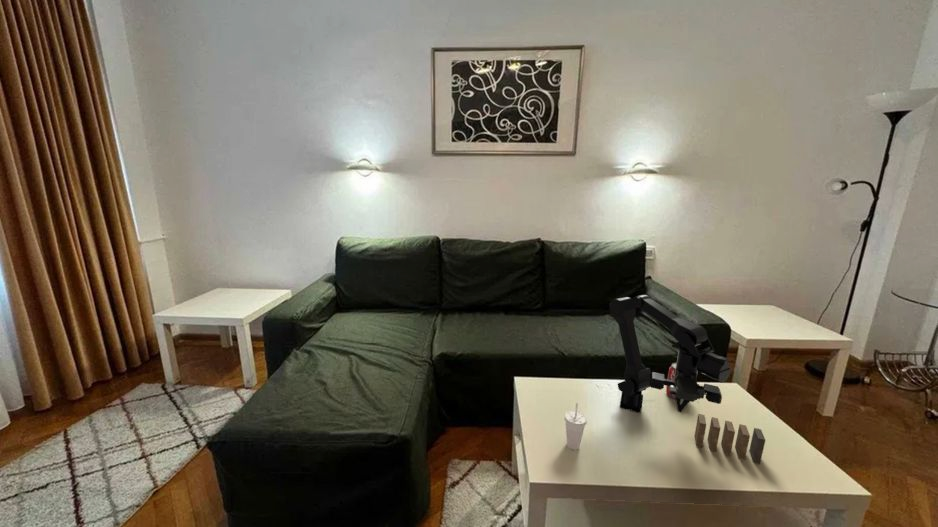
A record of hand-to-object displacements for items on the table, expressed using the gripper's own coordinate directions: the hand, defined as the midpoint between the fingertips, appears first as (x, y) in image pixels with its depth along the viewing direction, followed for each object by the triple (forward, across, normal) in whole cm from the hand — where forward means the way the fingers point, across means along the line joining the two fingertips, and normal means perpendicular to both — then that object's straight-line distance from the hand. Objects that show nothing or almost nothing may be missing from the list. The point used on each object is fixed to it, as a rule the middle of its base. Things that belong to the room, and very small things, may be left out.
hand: (679, 411), depth 112 cm
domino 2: (+8, +10, 0) cm, 13 cm away
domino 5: (+8, +20, 0) cm, 22 cm away
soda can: (+9, +1, +25) cm, 26 cm away
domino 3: (+8, +13, 0) cm, 16 cm away
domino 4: (+8, +17, 0) cm, 19 cm away
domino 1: (+8, +6, 0) cm, 10 cm away
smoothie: (+9, -28, -20) cm, 35 cm away
